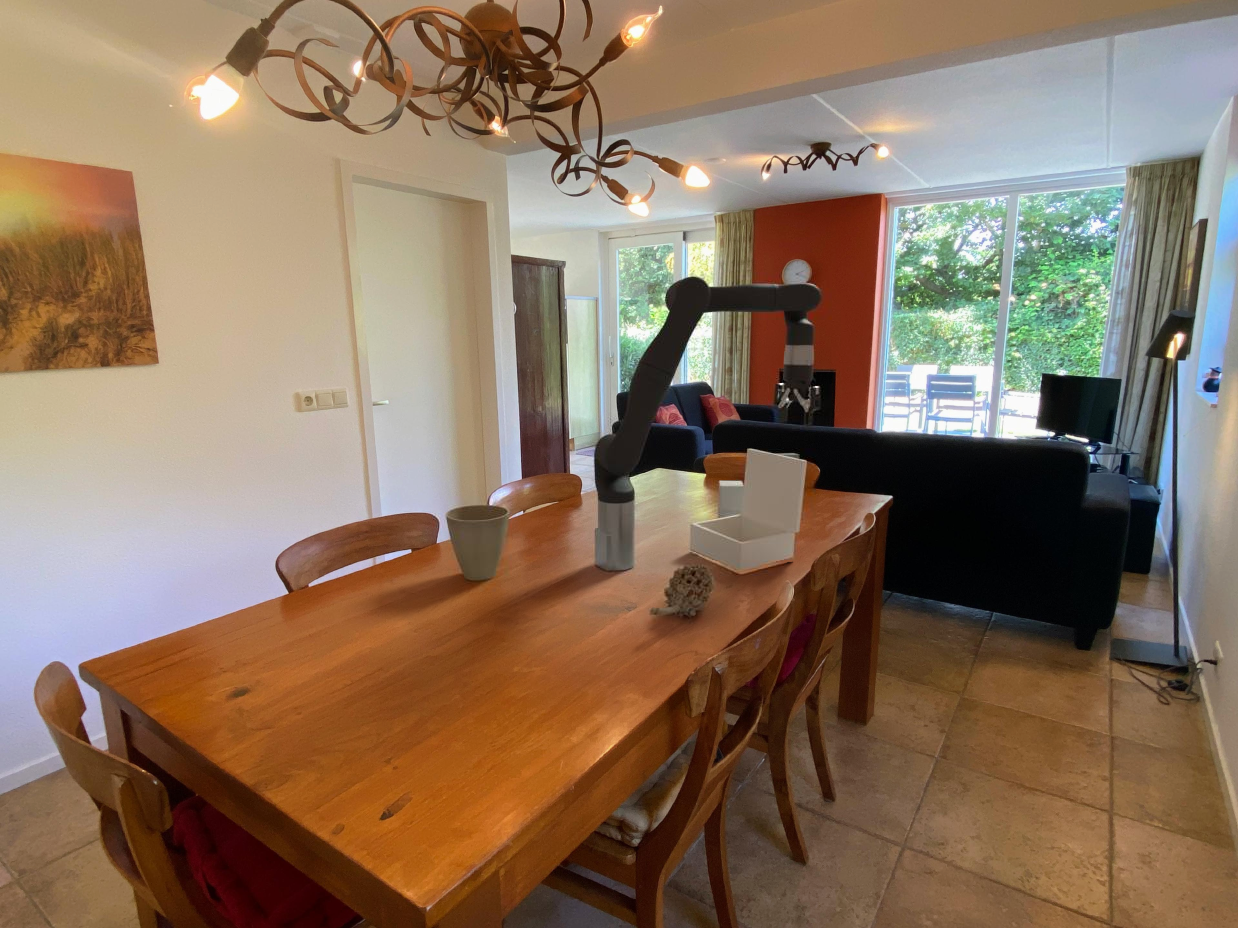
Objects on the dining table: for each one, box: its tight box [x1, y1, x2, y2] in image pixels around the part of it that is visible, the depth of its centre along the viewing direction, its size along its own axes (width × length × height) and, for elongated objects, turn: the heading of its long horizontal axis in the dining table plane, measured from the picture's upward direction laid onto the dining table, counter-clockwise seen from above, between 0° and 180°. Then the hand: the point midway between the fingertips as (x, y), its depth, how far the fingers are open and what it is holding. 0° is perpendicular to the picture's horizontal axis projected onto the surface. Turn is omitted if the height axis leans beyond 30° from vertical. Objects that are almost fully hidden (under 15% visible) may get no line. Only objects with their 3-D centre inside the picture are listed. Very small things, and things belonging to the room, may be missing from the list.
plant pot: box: [445, 504, 510, 582], centre depth 158 cm, size 15×15×16 cm
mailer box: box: [689, 514, 796, 571], centre depth 171 cm, size 18×20×8 cm
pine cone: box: [648, 563, 715, 618], centre depth 134 cm, size 22×10×10 cm, turn 150°
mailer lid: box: [741, 448, 808, 533], centre depth 176 cm, size 18×20×8 cm
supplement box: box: [717, 480, 744, 519], centre depth 202 cm, size 7×7×13 cm
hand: (795, 424), depth 175 cm, fingers open, 8 cm apart
